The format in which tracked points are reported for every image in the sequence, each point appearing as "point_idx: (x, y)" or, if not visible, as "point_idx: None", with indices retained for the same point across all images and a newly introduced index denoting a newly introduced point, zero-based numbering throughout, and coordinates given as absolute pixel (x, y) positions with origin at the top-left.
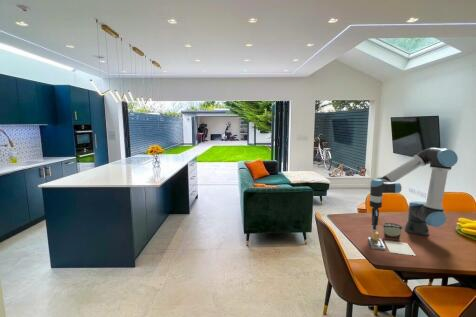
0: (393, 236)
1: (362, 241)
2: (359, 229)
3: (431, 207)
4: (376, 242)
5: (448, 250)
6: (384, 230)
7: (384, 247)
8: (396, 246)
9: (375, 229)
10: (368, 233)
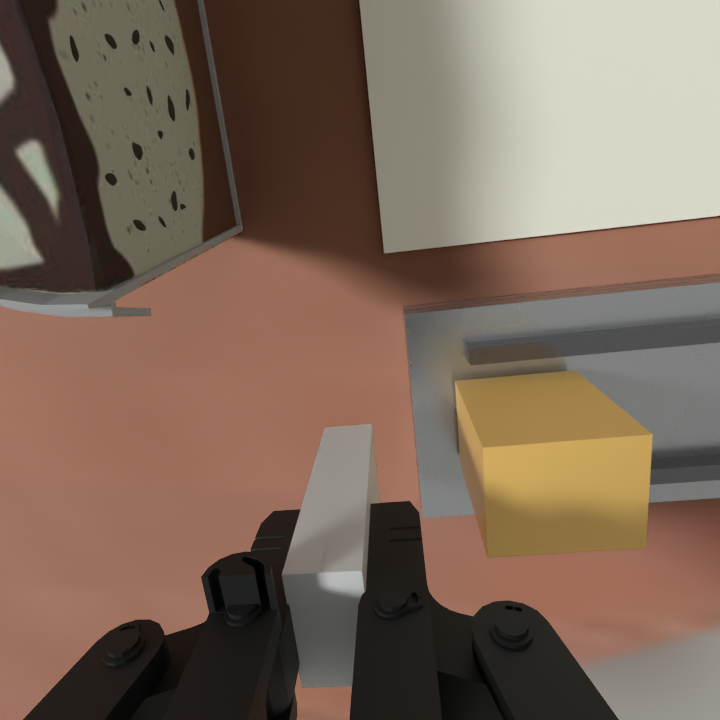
0: (186, 33)
1: (546, 573)
2: (45, 590)
3: None
4: (630, 405)
5: None
6: (177, 249)
7: None
8: (620, 28)
9: (417, 515)
10: (148, 476)
